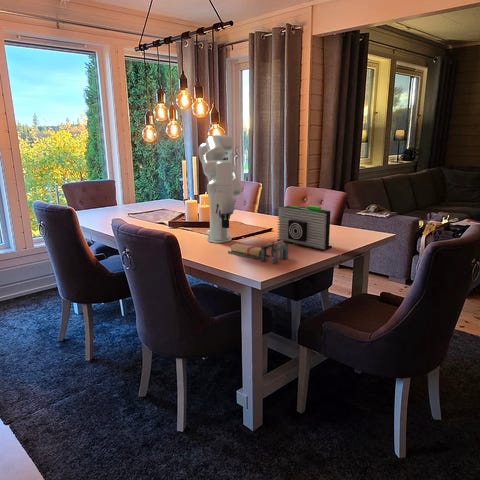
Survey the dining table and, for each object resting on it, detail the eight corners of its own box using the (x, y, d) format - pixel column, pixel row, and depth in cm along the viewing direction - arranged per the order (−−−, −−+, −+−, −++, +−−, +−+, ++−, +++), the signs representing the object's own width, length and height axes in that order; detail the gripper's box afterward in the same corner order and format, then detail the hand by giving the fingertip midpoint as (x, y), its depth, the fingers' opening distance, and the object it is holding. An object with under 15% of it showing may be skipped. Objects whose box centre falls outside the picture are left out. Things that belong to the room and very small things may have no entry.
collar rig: (261, 261, 175) (261, 244, 173) (275, 255, 184) (275, 238, 182) (275, 264, 171) (275, 246, 169) (289, 258, 179) (289, 241, 178)
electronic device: (273, 242, 207) (273, 203, 202) (286, 238, 215) (287, 201, 210) (319, 252, 188) (321, 210, 183) (332, 248, 195) (334, 207, 190)
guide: (227, 253, 189) (227, 251, 188) (236, 250, 194) (236, 248, 193) (261, 260, 177) (261, 258, 177) (269, 256, 182) (269, 254, 182)
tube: (231, 253, 189) (230, 244, 188) (236, 251, 192) (236, 242, 191) (259, 259, 179) (259, 250, 178) (264, 257, 183) (264, 248, 182)
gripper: (228, 186, 194) (229, 224, 198) (207, 189, 182) (209, 229, 186) (240, 187, 189) (241, 225, 194) (220, 190, 178) (221, 231, 182)
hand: (225, 227), depth 190 cm, fingers closed
